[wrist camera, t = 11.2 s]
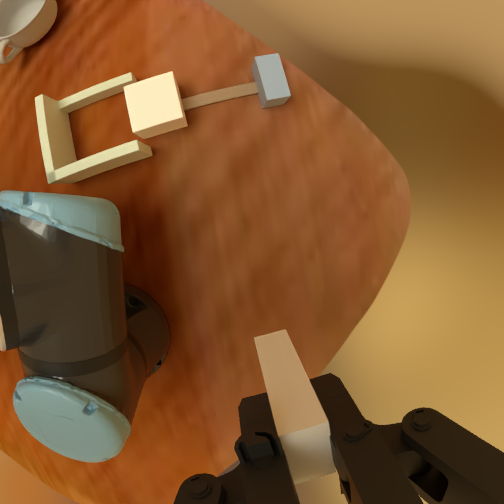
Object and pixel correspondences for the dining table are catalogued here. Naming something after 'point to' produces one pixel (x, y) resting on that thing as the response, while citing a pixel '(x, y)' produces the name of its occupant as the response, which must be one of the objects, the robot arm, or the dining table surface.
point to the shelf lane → (61, 142)
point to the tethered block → (198, 97)
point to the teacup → (24, 24)
